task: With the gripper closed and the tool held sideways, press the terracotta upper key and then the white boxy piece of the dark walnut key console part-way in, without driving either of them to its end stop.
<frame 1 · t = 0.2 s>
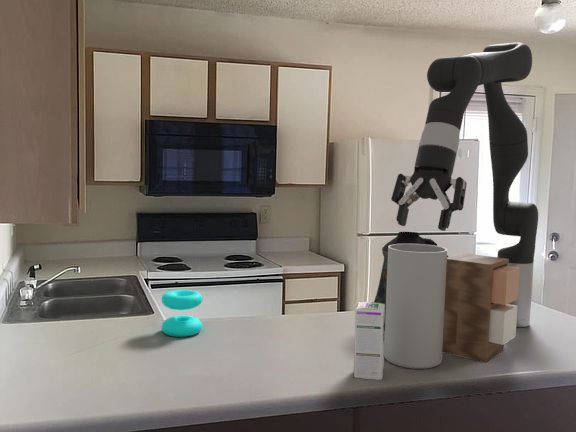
hand: (420, 227, 114), 31 cm above the counter, tool tilted 20°, fingers open, 8 cm apart
cylinder vase: (412, 360, 129), on the counter
white boxy piece: (496, 322, 131), point 8 cm above the counter, slide at 0.0 cm
beer stein: (405, 325, 156), on the counter
upper key: (498, 283, 130), point 17 cm above the counter, slide at 0.0 cm
donuts: (181, 333, 145), on the counter
syrup box: (368, 375, 119), on the counter
key console: (465, 349, 136), on the counter
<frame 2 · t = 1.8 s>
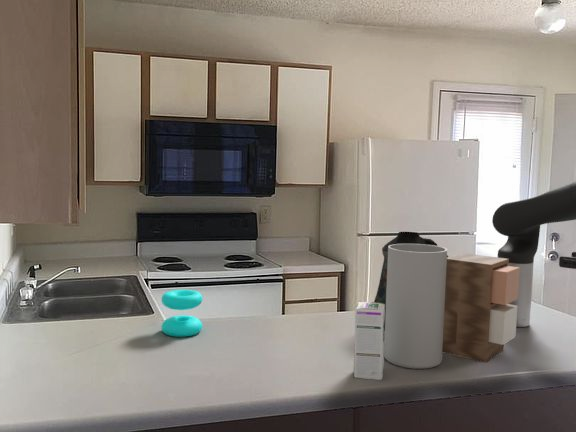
hand: (565, 259, 121), 24 cm above the counter, tool horizontal, fingers open, 8 cm apart
nothing on the counter moved.
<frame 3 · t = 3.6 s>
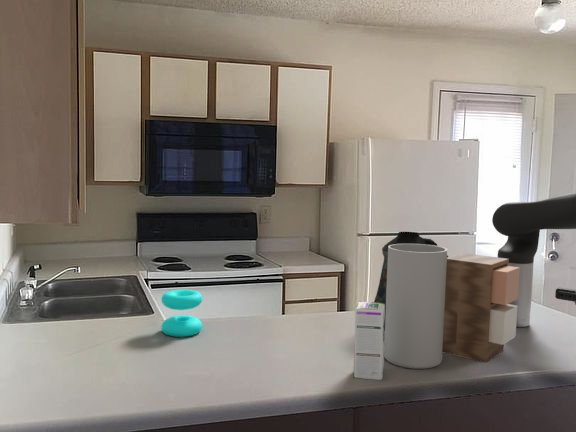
hand: (556, 292, 123), 17 cm above the counter, tool horizontal, fingers closed
nothing on the counter moved.
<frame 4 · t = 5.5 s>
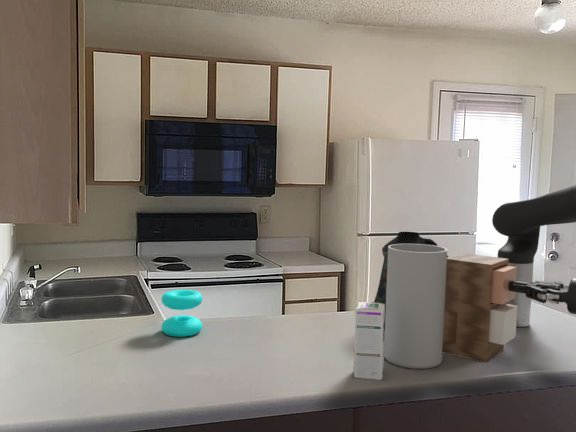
hand: (509, 285, 129), 17 cm above the counter, tool horizontal, fingers closed
upper key: (495, 283, 131), point 17 cm above the counter, slide at 0.7 cm, touching gripper
everything else where it was.
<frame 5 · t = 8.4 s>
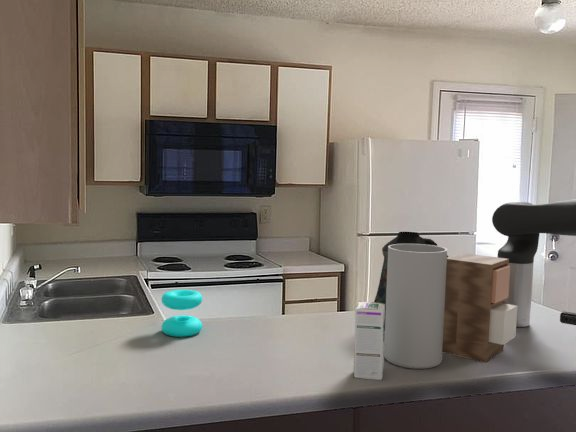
hand: (561, 316, 122), 12 cm above the counter, tool horizontal, fingers closed
upper key: (489, 282, 132), point 17 cm above the counter, slide at 2.2 cm
everything else where it was.
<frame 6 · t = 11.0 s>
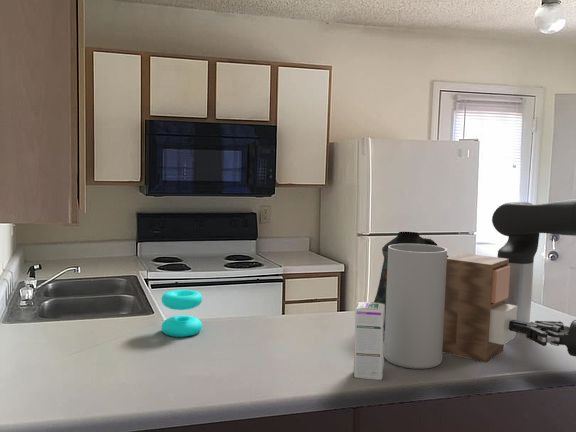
hand: (510, 324, 129), 8 cm above the counter, tool horizontal, fingers closed
white boxy piece: (496, 322, 131), point 8 cm above the counter, slide at 0.0 cm, touching gripper
everything else where it was.
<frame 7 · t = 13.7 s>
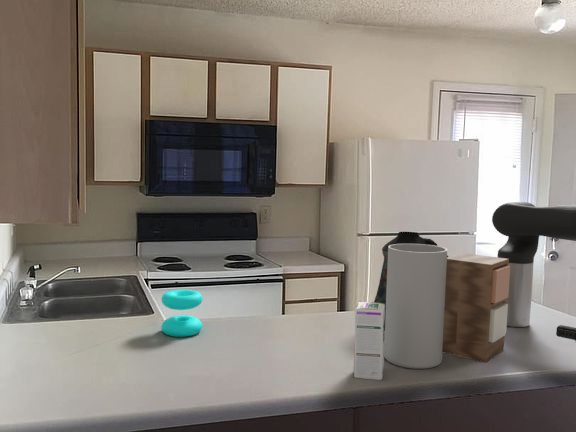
hand: (557, 330, 123), 9 cm above the counter, tool horizontal, fingers closed
white boxy piece: (487, 320, 133), point 8 cm above the counter, slide at 2.1 cm
everything else where it was.
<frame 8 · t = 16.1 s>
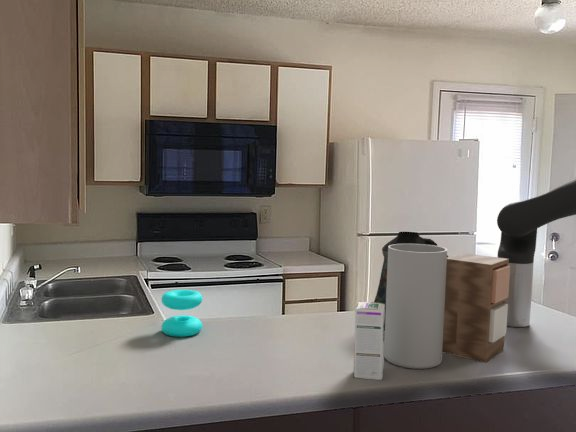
nothing on the counter moved.
at the end: upper key slide at 2.2 cm; white boxy piece slide at 2.1 cm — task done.
